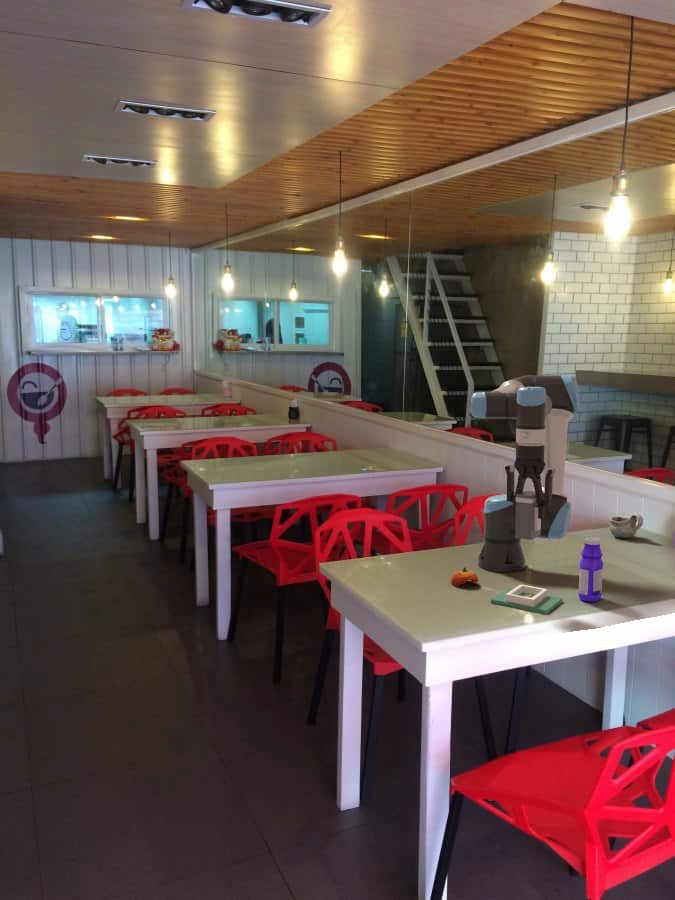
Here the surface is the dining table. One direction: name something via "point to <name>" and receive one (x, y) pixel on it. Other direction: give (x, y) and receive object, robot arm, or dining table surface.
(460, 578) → the tomato
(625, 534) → the mug
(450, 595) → the dining table surface
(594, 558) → the bottle
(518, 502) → the plug
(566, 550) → the dining table surface
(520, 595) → the header board
